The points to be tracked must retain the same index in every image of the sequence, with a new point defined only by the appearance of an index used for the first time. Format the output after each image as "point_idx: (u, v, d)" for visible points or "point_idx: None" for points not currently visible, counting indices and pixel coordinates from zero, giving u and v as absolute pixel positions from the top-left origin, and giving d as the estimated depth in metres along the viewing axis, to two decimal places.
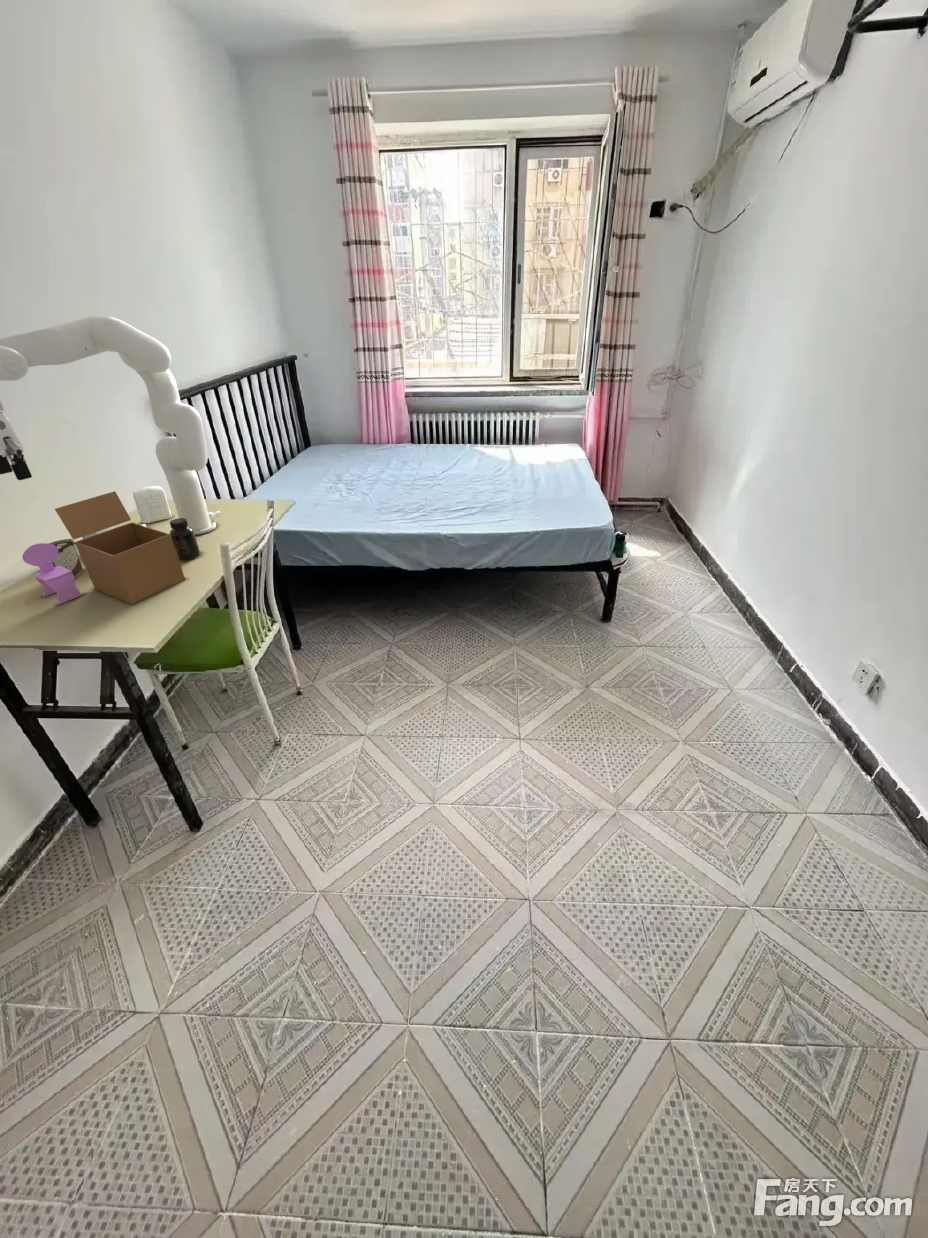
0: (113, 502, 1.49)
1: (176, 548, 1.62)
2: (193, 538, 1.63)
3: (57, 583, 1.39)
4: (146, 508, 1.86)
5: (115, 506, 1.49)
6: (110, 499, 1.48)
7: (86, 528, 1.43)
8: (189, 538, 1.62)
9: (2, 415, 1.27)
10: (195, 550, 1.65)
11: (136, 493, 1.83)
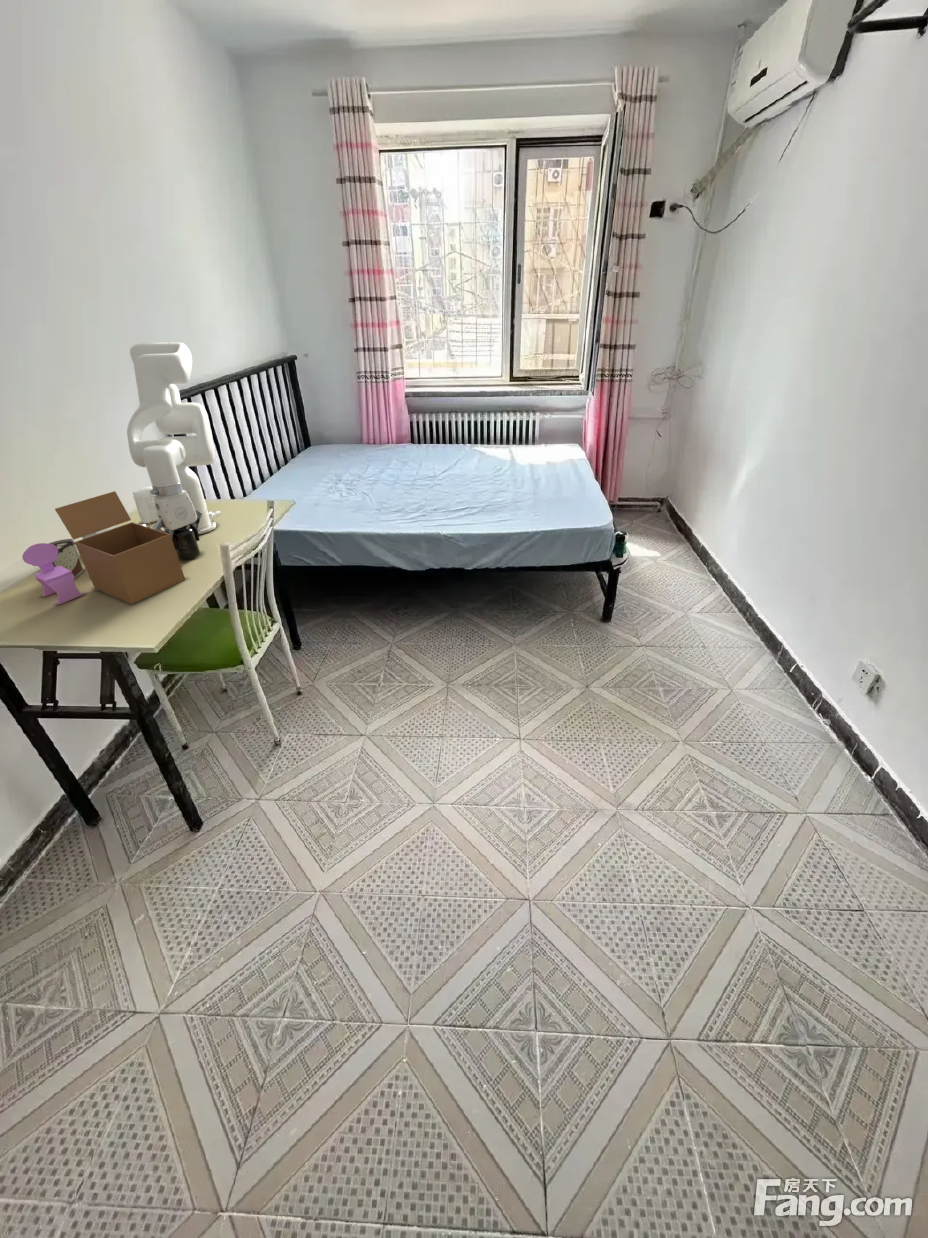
0: (113, 502, 1.49)
1: None
2: (193, 538, 1.63)
3: (57, 583, 1.39)
4: (146, 508, 1.86)
5: (115, 506, 1.49)
6: (110, 499, 1.48)
7: (86, 528, 1.43)
8: (189, 538, 1.62)
9: (159, 500, 1.52)
10: (195, 550, 1.65)
11: (136, 493, 1.83)
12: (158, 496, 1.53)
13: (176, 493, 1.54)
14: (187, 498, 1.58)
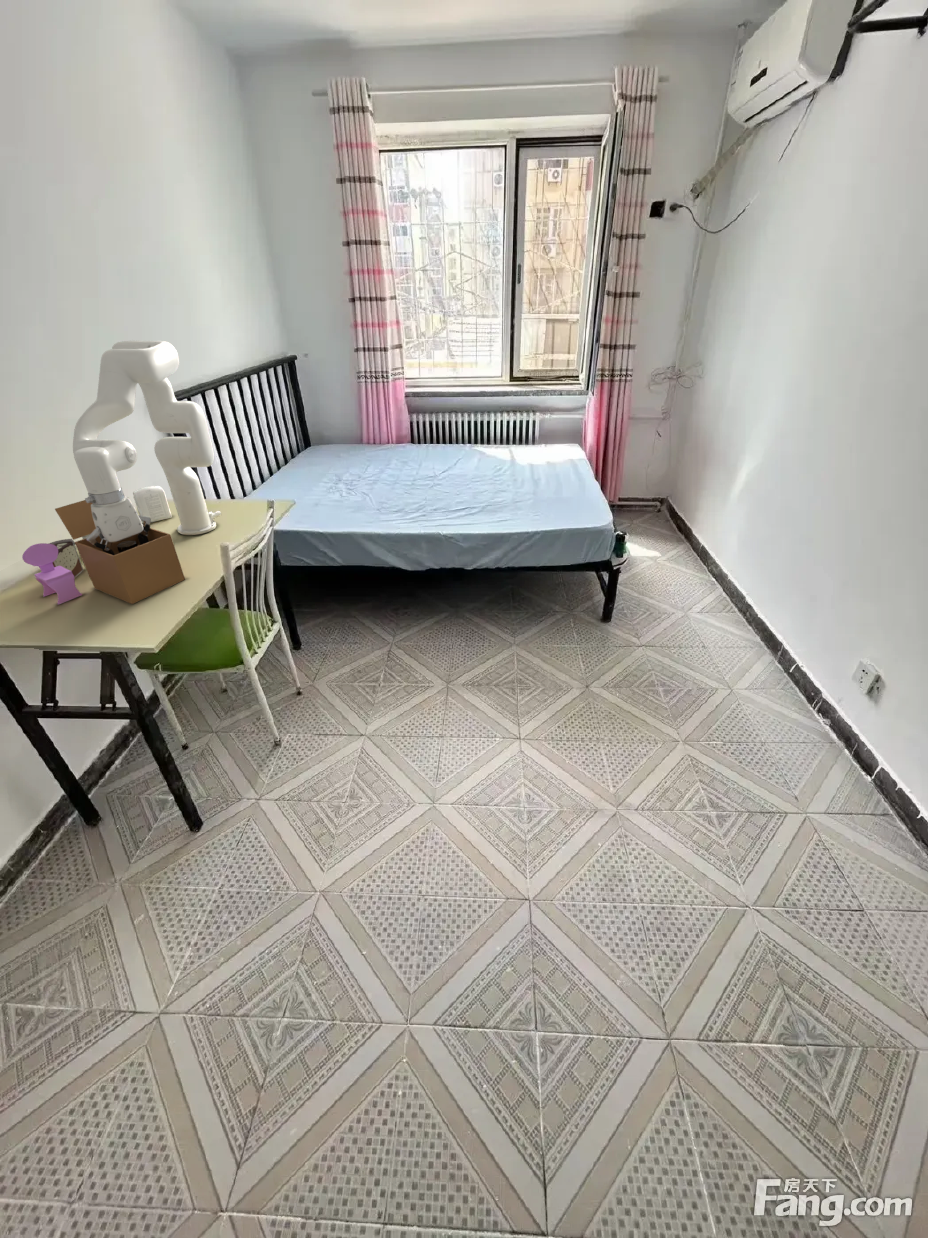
0: None
1: None
2: None
3: (57, 583, 1.39)
4: (146, 508, 1.86)
5: None
6: None
7: (86, 528, 1.43)
8: None
9: (96, 509, 1.34)
10: None
11: (136, 493, 1.83)
12: (95, 504, 1.35)
13: (116, 501, 1.36)
14: (130, 506, 1.40)
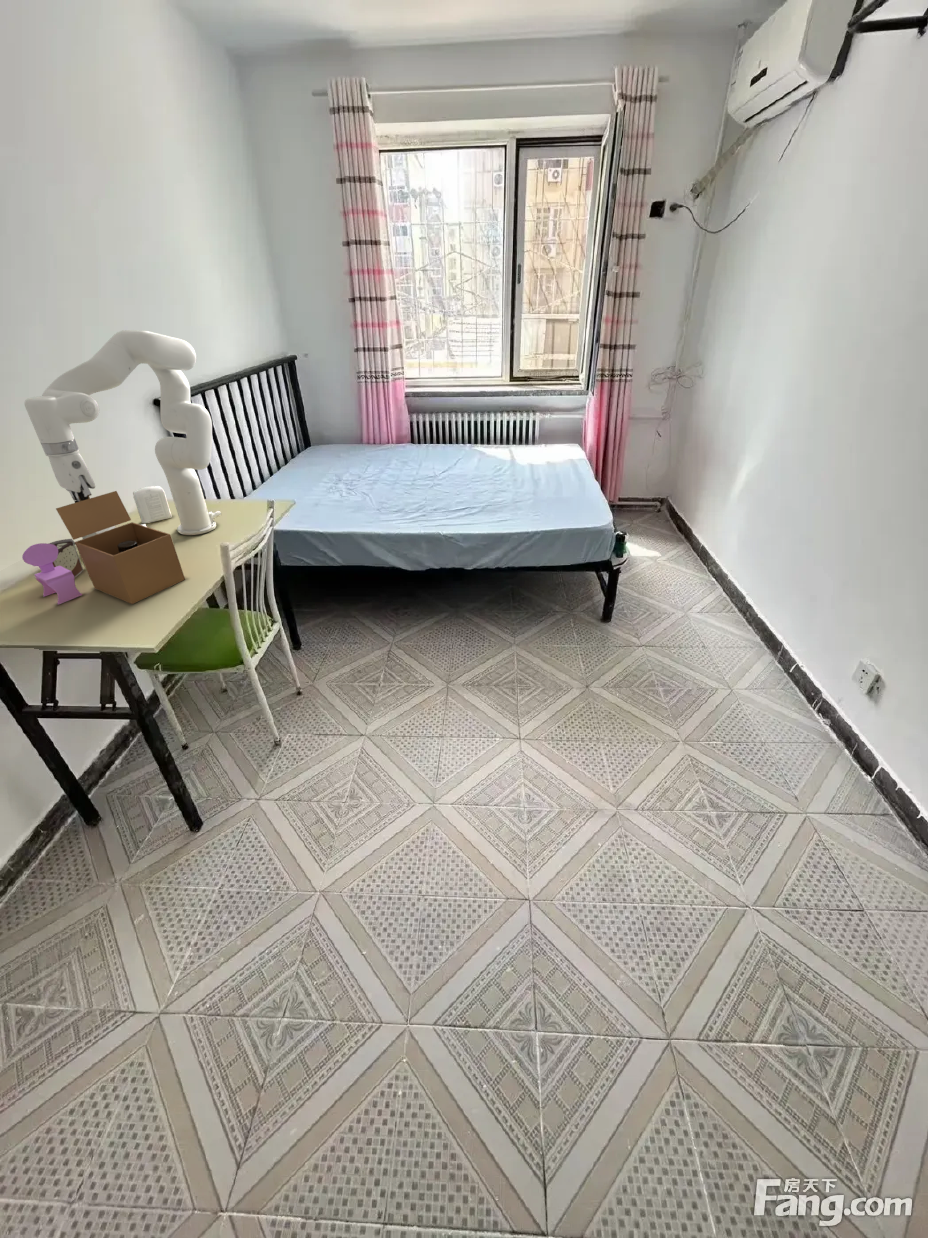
0: (114, 502, 1.49)
1: None
2: None
3: (57, 583, 1.39)
4: (146, 508, 1.86)
5: (116, 506, 1.49)
6: (111, 499, 1.48)
7: (86, 528, 1.43)
8: None
9: (78, 455, 1.37)
10: None
11: (136, 493, 1.83)
12: (70, 452, 1.36)
13: None
14: None
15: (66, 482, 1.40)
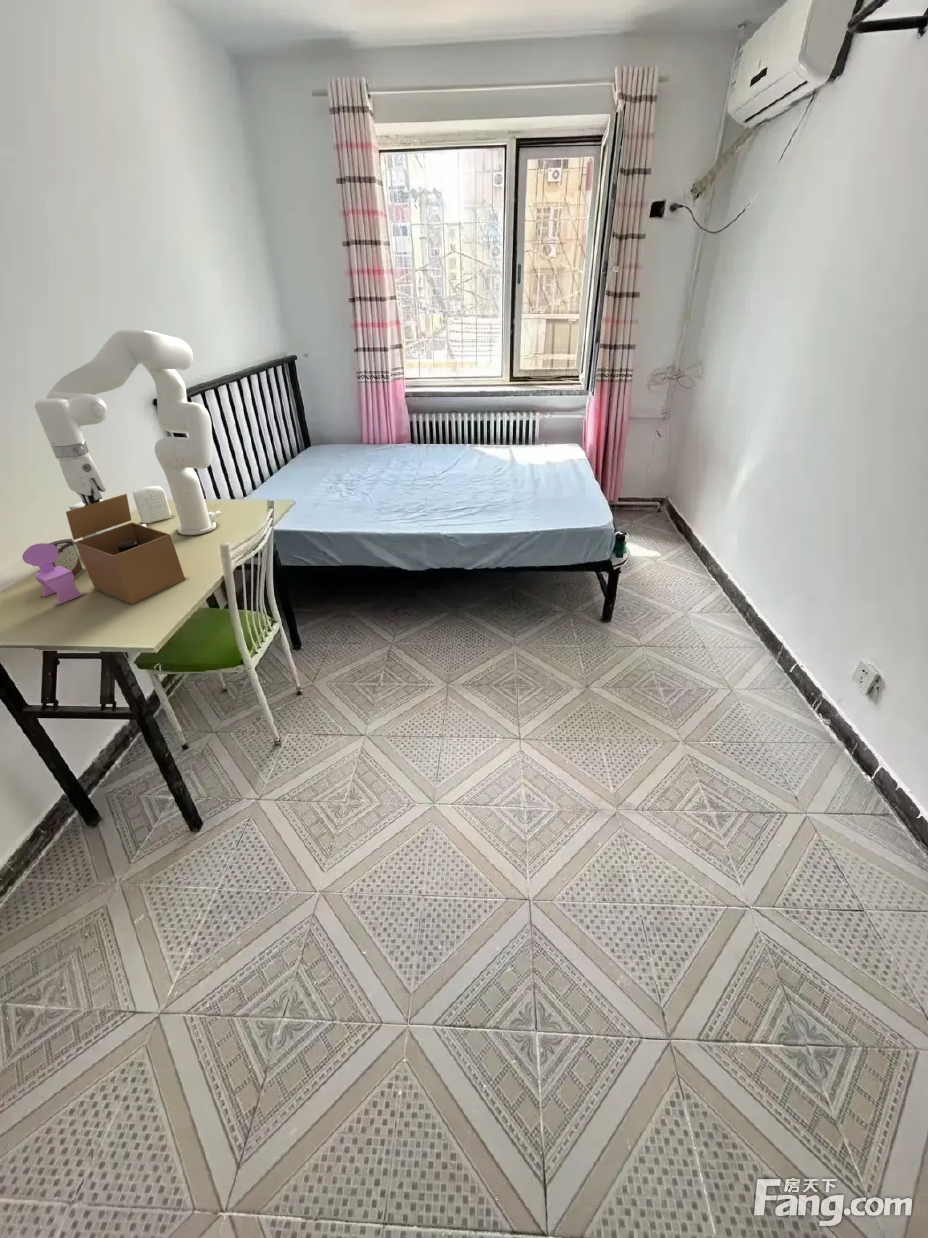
0: (121, 504, 1.47)
1: None
2: None
3: (57, 583, 1.39)
4: (146, 508, 1.86)
5: (121, 508, 1.48)
6: (119, 502, 1.46)
7: (88, 529, 1.43)
8: None
9: (89, 458, 1.35)
10: None
11: (136, 493, 1.83)
12: (80, 455, 1.34)
13: None
14: None
15: (76, 485, 1.38)
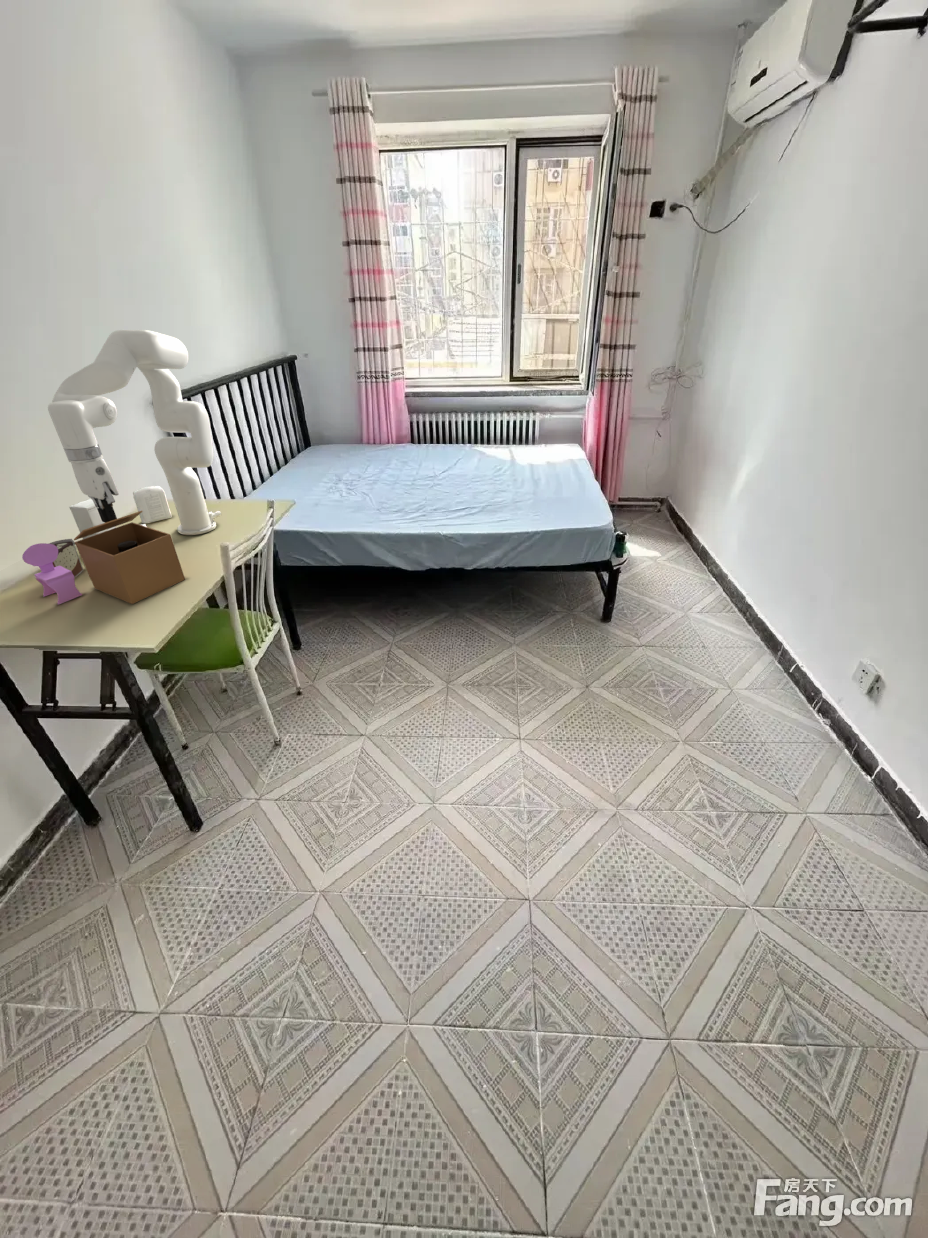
0: (132, 516, 1.48)
1: None
2: None
3: (57, 583, 1.39)
4: (146, 508, 1.86)
5: (130, 518, 1.48)
6: (132, 516, 1.47)
7: (92, 533, 1.43)
8: None
9: (102, 461, 1.33)
10: None
11: (136, 493, 1.83)
12: (93, 458, 1.32)
13: None
14: None
15: (89, 489, 1.35)
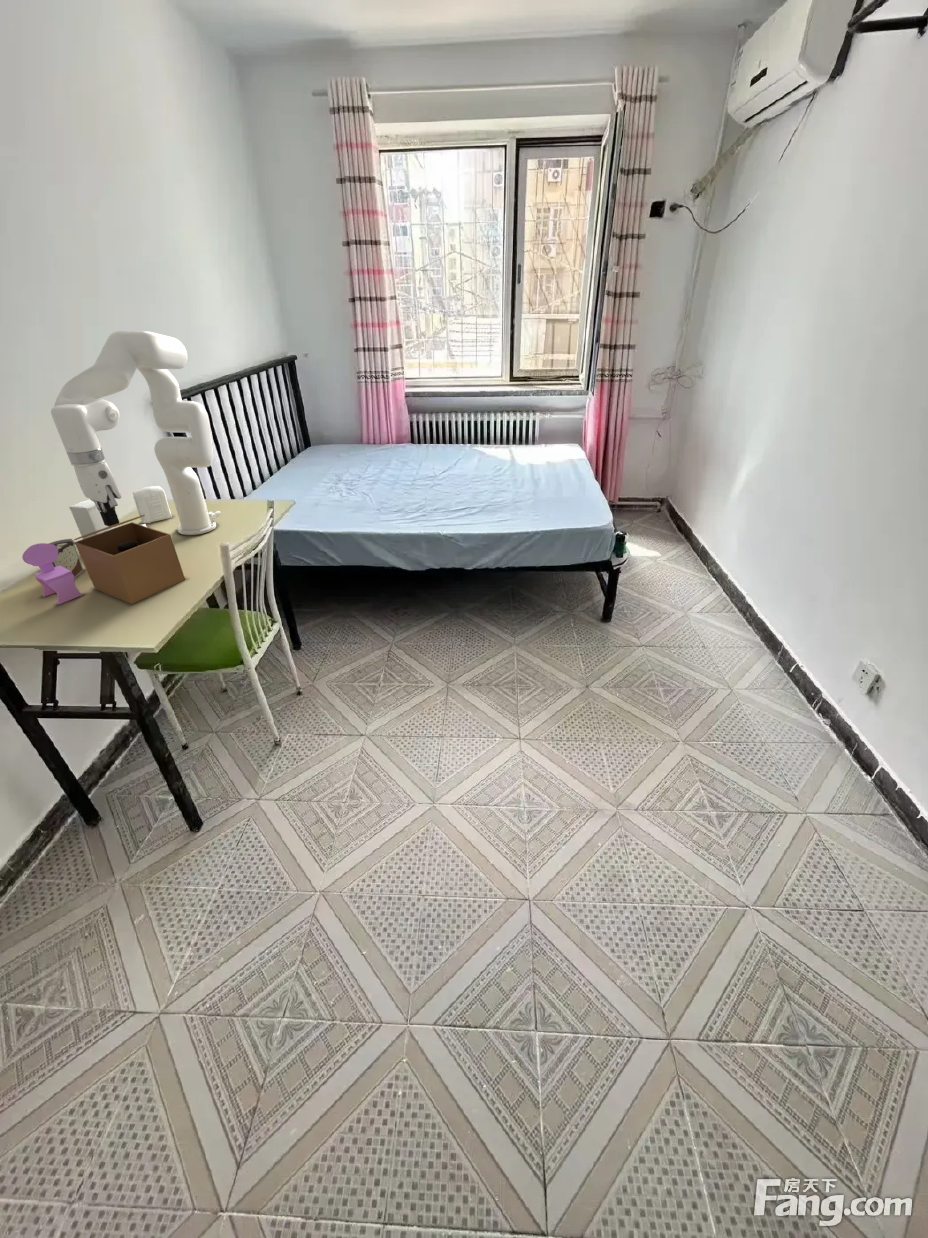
0: (133, 519, 1.48)
1: None
2: None
3: (57, 583, 1.39)
4: (146, 508, 1.86)
5: None
6: None
7: None
8: None
9: (105, 465, 1.33)
10: None
11: (136, 493, 1.83)
12: (96, 462, 1.32)
13: None
14: None
15: (92, 492, 1.35)
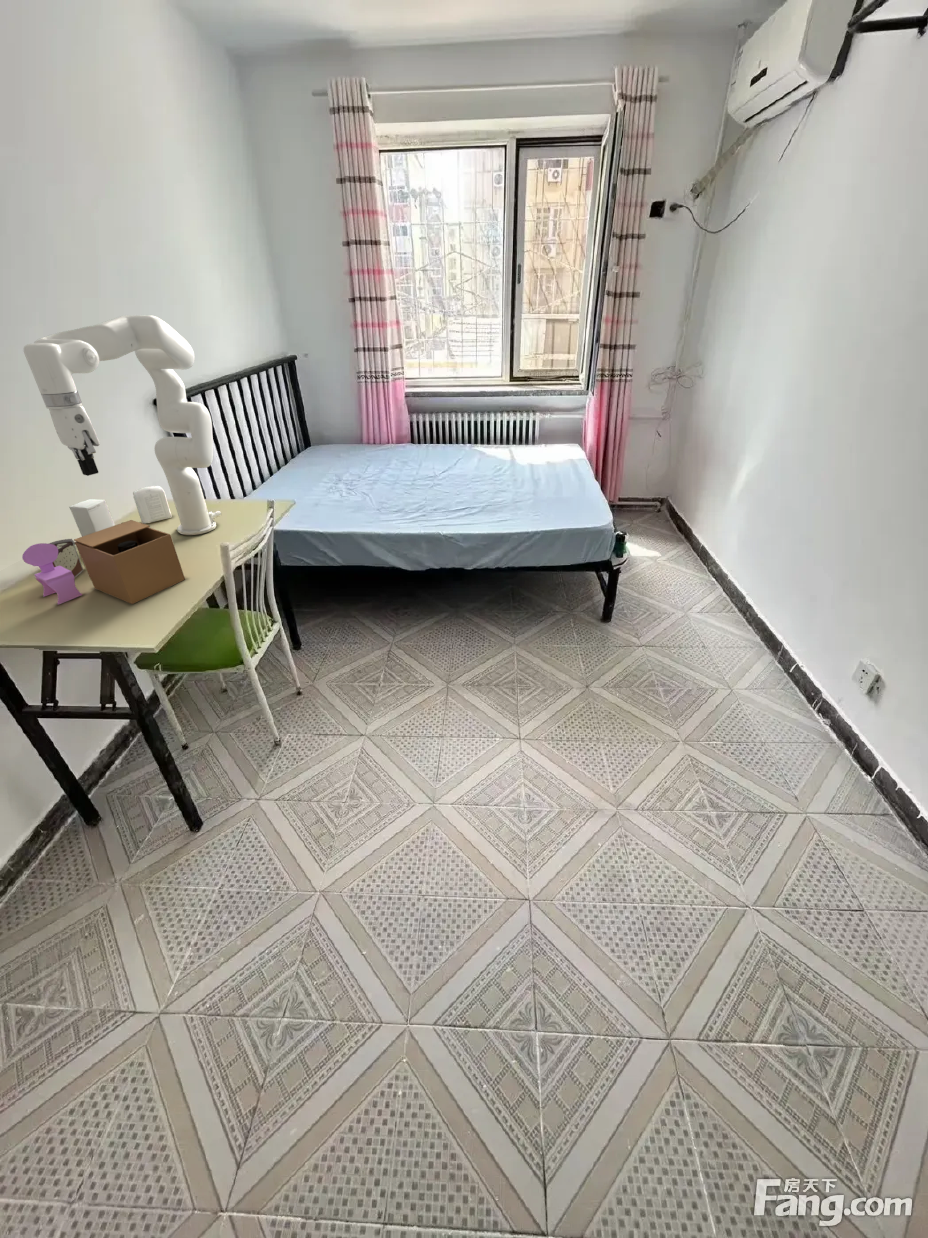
0: None
1: None
2: None
3: (57, 583, 1.39)
4: (146, 508, 1.86)
5: None
6: None
7: None
8: None
9: (81, 409, 1.28)
10: None
11: (136, 493, 1.83)
12: (72, 405, 1.27)
13: None
14: None
15: (68, 438, 1.30)
